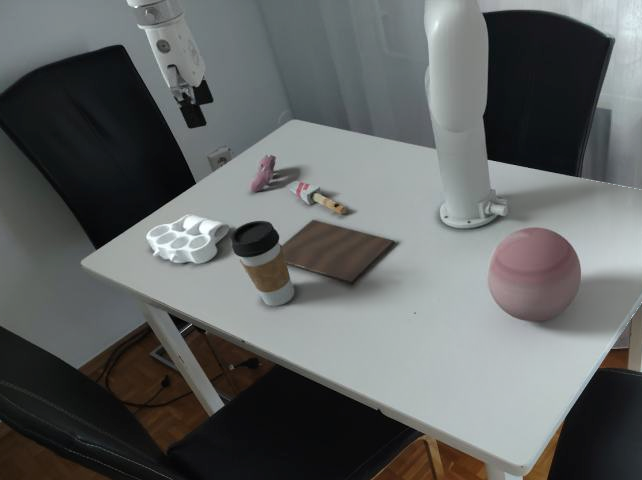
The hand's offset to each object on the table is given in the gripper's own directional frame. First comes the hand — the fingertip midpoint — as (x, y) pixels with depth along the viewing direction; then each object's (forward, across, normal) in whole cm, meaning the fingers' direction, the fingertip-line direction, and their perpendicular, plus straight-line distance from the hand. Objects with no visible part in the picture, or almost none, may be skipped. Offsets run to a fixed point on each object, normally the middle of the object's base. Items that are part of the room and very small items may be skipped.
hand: (201, 114), depth 112 cm
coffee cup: (+30, -16, -5) cm, 35 cm away
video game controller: (+30, +30, 0) cm, 43 cm away
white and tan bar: (+30, +16, -12) cm, 36 cm away
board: (+30, -5, -15) cm, 34 cm away
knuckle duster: (+31, +9, +16) cm, 36 cm away
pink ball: (+30, -35, -50) cm, 68 cm away
